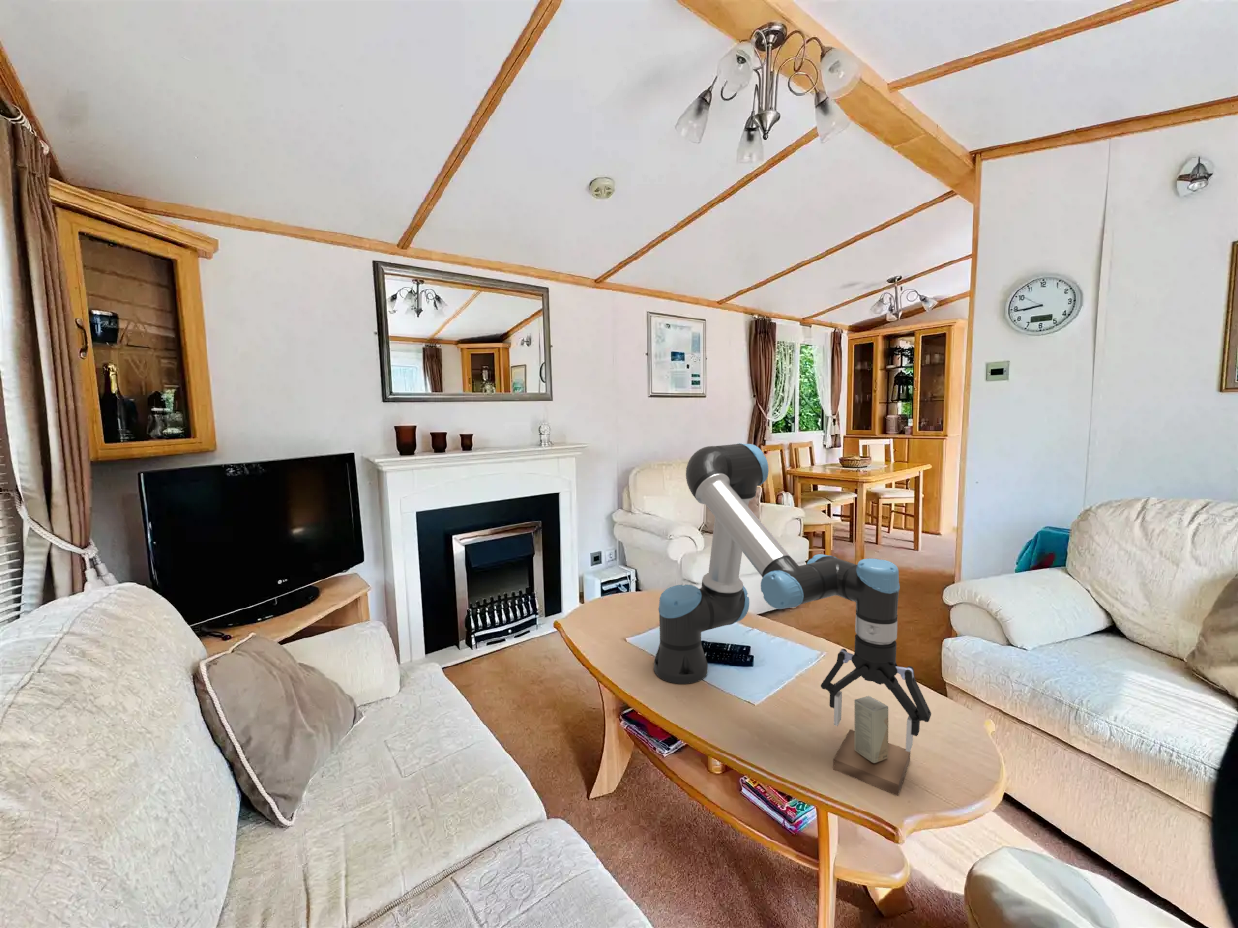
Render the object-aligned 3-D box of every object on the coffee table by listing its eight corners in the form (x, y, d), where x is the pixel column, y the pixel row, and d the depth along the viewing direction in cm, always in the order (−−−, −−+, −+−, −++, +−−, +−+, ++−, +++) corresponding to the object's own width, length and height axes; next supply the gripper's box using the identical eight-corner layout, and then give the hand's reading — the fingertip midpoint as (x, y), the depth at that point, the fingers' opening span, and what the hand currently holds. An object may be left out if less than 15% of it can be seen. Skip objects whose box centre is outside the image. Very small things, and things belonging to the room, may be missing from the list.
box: (888, 758, 106) (890, 706, 105) (873, 764, 104) (874, 711, 103) (867, 743, 111) (869, 694, 110) (852, 749, 109) (853, 698, 108)
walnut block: (833, 772, 107) (833, 758, 106) (849, 741, 116) (849, 729, 116) (897, 798, 99) (898, 784, 99) (909, 763, 109) (910, 750, 108)
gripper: (806, 627, 109) (804, 721, 112) (945, 662, 94) (939, 770, 96) (818, 615, 115) (816, 704, 118) (951, 646, 99) (945, 748, 102)
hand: (871, 734), depth 107 cm, fingers open, 13 cm apart
